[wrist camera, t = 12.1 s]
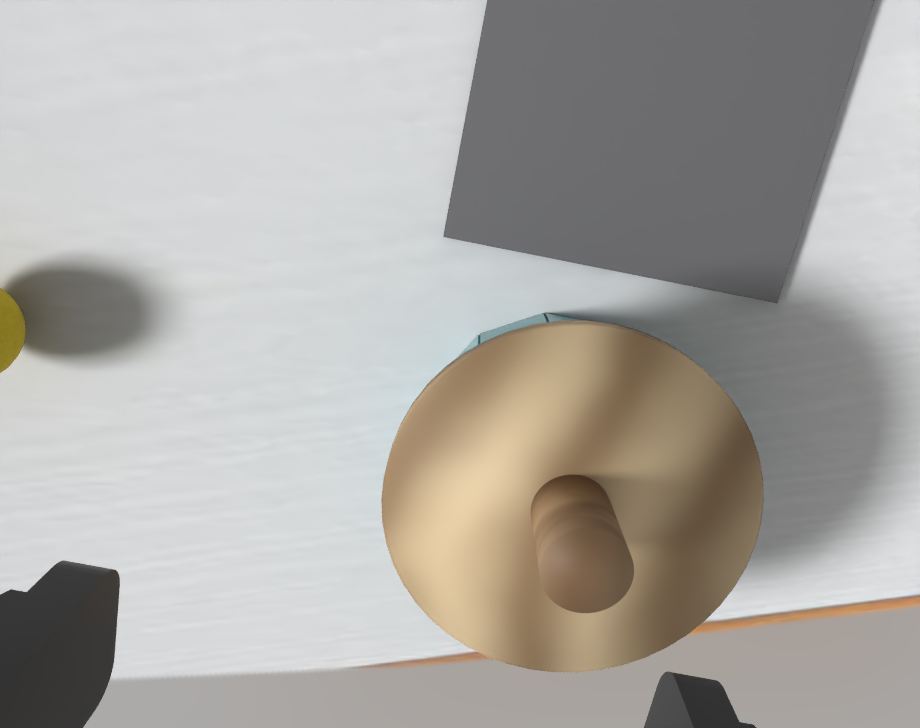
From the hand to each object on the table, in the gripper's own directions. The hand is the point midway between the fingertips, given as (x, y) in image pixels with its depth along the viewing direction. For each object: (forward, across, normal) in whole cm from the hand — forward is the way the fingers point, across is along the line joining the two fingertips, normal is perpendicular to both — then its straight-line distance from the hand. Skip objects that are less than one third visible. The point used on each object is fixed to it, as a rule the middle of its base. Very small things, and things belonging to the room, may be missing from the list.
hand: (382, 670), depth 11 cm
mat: (+30, -8, -12) cm, 33 cm away
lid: (+22, -7, +7) cm, 24 cm away
